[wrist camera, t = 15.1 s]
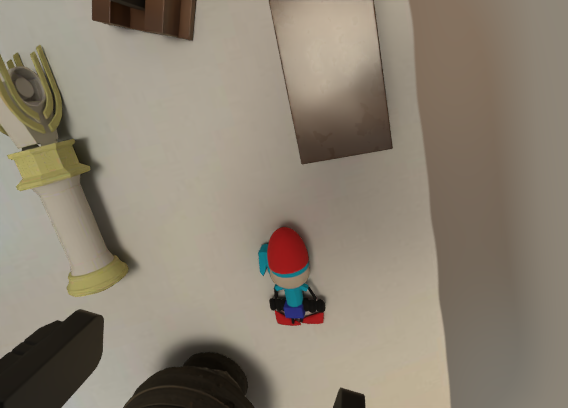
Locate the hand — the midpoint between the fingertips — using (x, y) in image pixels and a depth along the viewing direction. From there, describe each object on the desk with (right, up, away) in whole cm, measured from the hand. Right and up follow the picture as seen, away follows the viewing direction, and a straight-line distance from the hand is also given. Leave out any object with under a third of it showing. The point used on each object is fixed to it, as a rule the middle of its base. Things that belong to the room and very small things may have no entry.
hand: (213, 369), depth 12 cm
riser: (+8, +20, +27) cm, 34 cm away
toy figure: (+3, -3, +35) cm, 36 cm away
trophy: (-24, +10, +36) cm, 45 cm away
